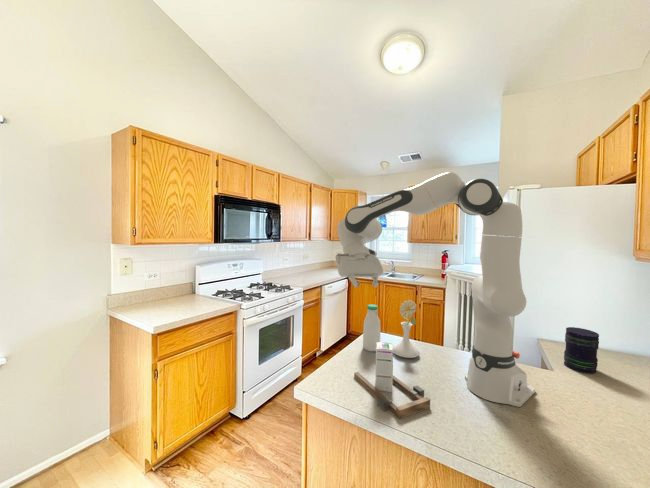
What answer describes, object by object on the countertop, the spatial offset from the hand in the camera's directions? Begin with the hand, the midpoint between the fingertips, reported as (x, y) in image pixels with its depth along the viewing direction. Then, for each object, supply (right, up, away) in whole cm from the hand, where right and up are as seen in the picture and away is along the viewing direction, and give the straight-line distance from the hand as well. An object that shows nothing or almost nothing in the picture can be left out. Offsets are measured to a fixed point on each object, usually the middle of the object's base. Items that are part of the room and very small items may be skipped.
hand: (366, 286), depth 102 cm
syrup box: (+5, -34, -8) cm, 35 cm away
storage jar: (+87, -34, +7) cm, 94 cm away
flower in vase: (+20, -33, +16) cm, 41 cm away
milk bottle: (+6, -32, +22) cm, 40 cm away
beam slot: (+5, -34, -10) cm, 35 cm away
